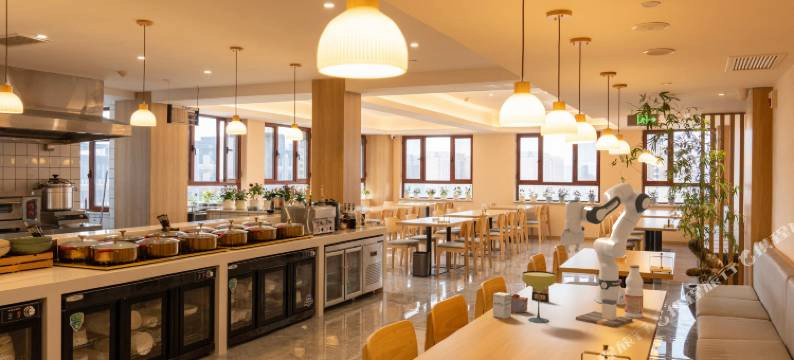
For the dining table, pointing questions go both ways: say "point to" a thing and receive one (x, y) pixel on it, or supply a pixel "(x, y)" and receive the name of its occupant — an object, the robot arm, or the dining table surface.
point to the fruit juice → (634, 293)
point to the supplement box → (501, 305)
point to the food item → (518, 303)
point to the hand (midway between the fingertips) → (572, 252)
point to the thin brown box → (541, 295)
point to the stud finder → (609, 309)
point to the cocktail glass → (539, 286)
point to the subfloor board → (597, 319)
